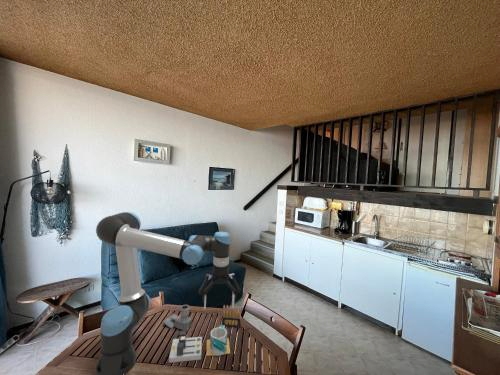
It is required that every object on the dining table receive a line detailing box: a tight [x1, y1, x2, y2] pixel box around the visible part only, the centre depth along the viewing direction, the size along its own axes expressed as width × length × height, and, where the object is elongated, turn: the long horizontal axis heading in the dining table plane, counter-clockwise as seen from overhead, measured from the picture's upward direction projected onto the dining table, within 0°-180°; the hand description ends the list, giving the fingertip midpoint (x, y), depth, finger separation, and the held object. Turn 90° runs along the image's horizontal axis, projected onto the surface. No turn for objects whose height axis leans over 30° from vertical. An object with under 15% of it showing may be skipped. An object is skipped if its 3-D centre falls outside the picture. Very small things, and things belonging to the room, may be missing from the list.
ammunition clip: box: [221, 304, 242, 328], centre depth 126 cm, size 11×2×12 cm, turn 87°
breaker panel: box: [168, 336, 203, 364], centre depth 107 cm, size 14×12×2 cm
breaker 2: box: [180, 335, 187, 349], centre depth 107 cm, size 3×3×4 cm
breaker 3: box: [177, 342, 184, 356], centre depth 103 cm, size 3×3×4 cm
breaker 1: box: [178, 330, 186, 343], centre depth 110 cm, size 3×3×4 cm
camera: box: [162, 304, 192, 332], centre depth 125 cm, size 9×12×15 cm
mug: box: [209, 324, 228, 357], centre depth 110 cm, size 8×12×8 cm
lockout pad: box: [206, 337, 231, 357], centre depth 110 cm, size 11×10×1 cm
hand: (219, 307), depth 110 cm, fingers open, 13 cm apart
